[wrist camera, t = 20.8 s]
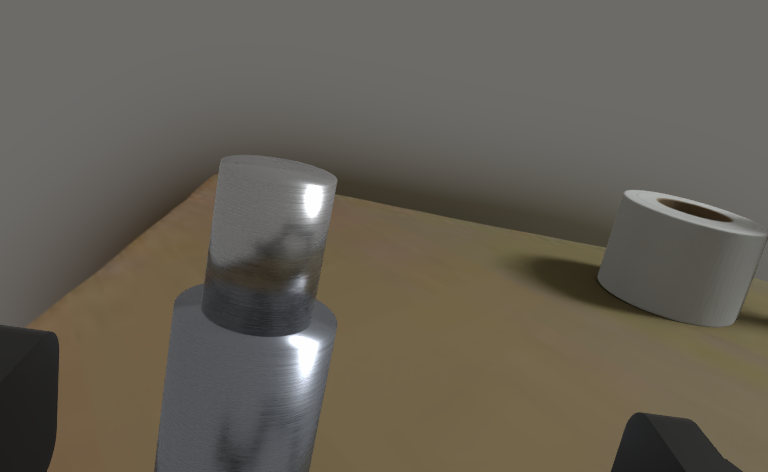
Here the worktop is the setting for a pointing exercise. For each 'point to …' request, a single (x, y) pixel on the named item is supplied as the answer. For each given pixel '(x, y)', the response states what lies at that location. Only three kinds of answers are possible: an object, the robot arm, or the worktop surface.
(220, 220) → the metal spray bottle
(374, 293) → the worktop surface
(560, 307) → the worktop surface
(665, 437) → the robot arm
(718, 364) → the worktop surface
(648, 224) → the white toilet paper roll
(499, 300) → the worktop surface
